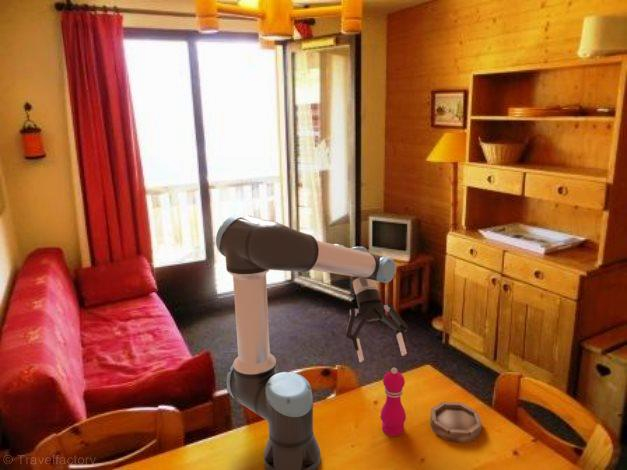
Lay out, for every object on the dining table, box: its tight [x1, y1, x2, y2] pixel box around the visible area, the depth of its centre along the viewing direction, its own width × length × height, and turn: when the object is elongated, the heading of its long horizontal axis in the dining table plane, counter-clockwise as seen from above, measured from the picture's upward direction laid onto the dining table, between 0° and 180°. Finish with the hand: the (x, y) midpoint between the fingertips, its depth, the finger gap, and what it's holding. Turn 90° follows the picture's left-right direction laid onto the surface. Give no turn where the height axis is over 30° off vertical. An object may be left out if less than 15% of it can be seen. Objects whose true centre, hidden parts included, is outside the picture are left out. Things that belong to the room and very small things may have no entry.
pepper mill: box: [380, 367, 407, 437], centre depth 133 cm, size 7×7×20 cm
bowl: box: [429, 401, 483, 444], centre depth 135 cm, size 14×14×3 cm
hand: (383, 357), depth 140 cm, fingers open, 13 cm apart
